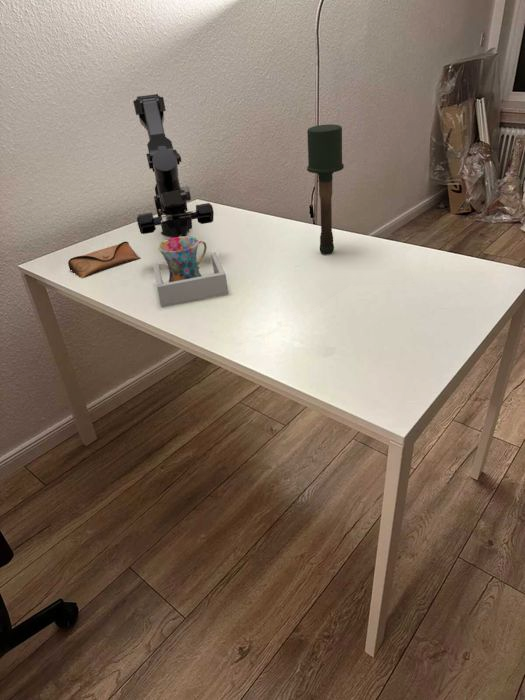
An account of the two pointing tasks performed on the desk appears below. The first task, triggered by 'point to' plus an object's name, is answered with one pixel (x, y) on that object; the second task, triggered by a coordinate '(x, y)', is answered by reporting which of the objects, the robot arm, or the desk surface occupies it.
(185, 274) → the mug
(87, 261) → the sunglasses case
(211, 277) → the grey open tray
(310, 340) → the desk surface
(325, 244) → the stick grenade
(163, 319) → the desk surface
